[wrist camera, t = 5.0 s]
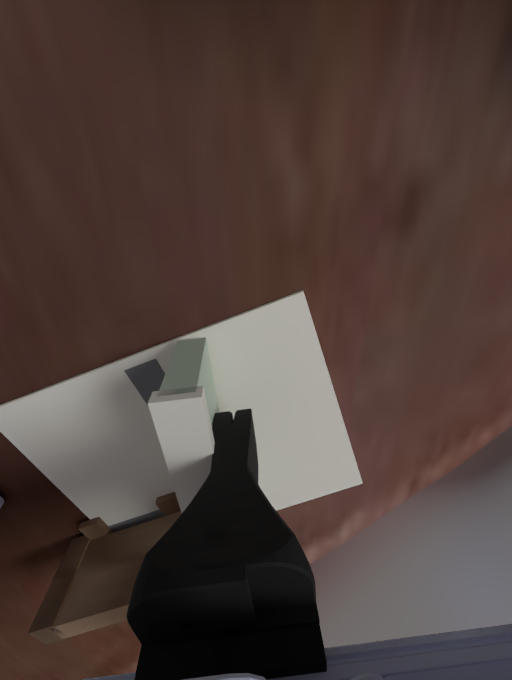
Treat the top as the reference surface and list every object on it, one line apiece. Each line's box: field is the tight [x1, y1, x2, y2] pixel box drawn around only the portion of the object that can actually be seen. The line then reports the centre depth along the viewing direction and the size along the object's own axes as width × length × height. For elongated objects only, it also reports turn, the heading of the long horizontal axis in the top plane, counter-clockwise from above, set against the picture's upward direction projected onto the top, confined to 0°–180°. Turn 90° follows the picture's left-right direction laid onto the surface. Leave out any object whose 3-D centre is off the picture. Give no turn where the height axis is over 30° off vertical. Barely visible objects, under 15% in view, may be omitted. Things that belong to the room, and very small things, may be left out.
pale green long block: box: [148, 337, 219, 513], centre depth 13 cm, size 12×2×4 cm, turn 5°
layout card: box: [0, 290, 363, 533], centre depth 16 cm, size 16×13×1 cm
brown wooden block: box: [28, 492, 182, 645], centre depth 16 cm, size 9×4×4 cm, turn 110°
